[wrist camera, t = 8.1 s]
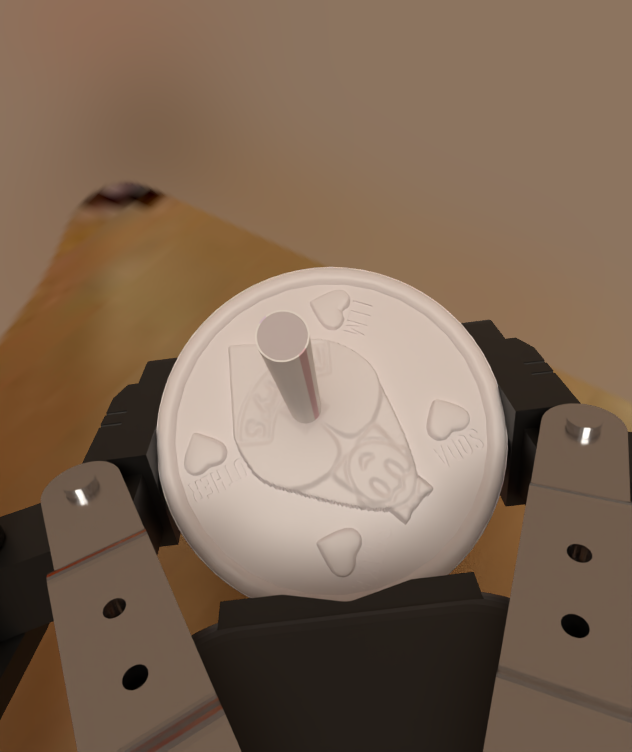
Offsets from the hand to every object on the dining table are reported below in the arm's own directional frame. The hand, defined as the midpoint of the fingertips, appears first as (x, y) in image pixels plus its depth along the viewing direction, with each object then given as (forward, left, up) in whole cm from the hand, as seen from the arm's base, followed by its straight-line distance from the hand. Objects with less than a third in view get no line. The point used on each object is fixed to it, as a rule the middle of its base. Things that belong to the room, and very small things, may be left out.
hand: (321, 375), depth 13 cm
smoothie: (0, -2, -7) cm, 7 cm away
